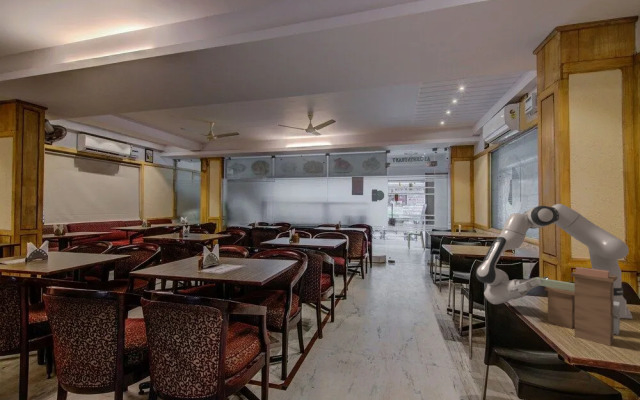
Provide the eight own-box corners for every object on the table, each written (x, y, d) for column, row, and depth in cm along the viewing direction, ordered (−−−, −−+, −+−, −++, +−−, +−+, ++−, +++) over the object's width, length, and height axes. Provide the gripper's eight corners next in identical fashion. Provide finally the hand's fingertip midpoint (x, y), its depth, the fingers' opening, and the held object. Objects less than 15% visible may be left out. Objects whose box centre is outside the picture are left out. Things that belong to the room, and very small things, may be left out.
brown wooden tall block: (576, 331, 138) (576, 270, 138) (617, 341, 128) (617, 276, 128) (570, 336, 132) (571, 273, 133) (613, 347, 122) (613, 279, 123)
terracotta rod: (577, 273, 133) (577, 267, 133) (609, 277, 125) (609, 271, 126) (575, 273, 132) (575, 267, 132) (607, 278, 124) (608, 271, 124)
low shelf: (550, 318, 154) (550, 284, 154) (579, 325, 145) (579, 289, 145) (544, 322, 148) (544, 287, 148) (574, 329, 139) (574, 292, 140)
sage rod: (536, 283, 156) (536, 277, 156) (592, 293, 140) (592, 286, 140) (534, 284, 154) (534, 278, 154) (590, 294, 138) (590, 287, 138)
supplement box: (596, 330, 139) (596, 301, 139) (597, 326, 144) (597, 298, 144) (619, 335, 134) (619, 305, 134) (620, 331, 139) (620, 301, 139)
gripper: (504, 285, 156) (533, 276, 147) (520, 279, 169) (547, 270, 160) (512, 298, 153) (541, 289, 144) (527, 291, 166) (555, 282, 157)
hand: (544, 279), depth 152 cm, fingers open, 8 cm apart
